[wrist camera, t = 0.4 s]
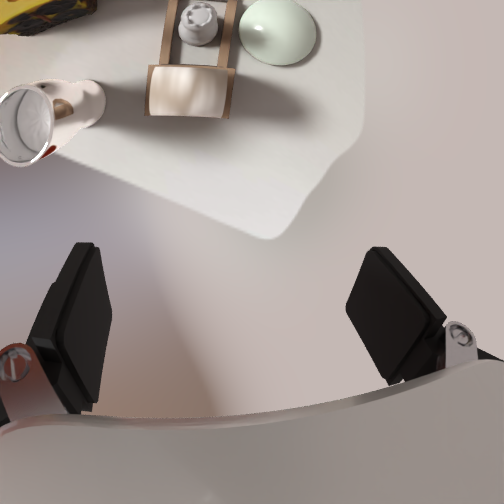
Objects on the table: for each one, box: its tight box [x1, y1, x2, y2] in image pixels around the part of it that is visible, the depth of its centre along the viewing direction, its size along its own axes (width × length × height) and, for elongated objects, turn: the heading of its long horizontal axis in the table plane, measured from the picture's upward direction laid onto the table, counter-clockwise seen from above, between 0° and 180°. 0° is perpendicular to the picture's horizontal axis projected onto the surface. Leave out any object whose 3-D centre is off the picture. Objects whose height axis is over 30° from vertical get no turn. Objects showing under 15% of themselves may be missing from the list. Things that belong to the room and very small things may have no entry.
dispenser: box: [144, 0, 237, 119], centre depth 22 cm, size 15×8×11 cm, turn 172°
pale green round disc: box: [239, 0, 316, 65], centre depth 26 cm, size 9×9×1 cm
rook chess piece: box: [178, 2, 218, 46], centre depth 22 cm, size 4×4×8 cm
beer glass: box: [0, 79, 106, 167], centre depth 21 cm, size 7×7×15 cm
